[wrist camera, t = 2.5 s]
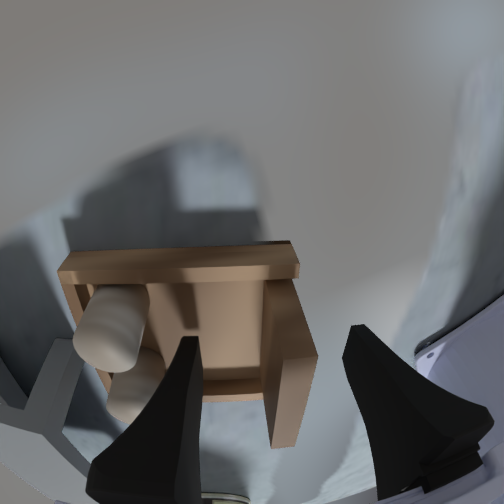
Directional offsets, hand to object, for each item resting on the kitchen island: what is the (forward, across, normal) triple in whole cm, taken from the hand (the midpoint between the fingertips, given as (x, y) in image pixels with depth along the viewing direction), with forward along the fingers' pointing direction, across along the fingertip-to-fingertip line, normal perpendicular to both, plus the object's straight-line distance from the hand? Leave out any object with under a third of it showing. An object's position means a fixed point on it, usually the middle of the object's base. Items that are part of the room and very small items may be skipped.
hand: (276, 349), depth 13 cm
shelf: (+2, +14, +8) cm, 16 cm away
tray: (+2, +4, 0) cm, 4 cm away
